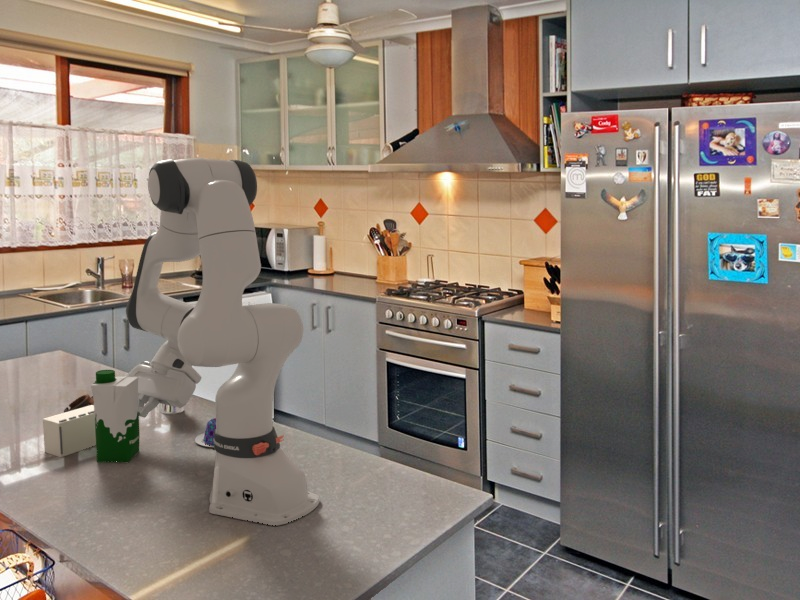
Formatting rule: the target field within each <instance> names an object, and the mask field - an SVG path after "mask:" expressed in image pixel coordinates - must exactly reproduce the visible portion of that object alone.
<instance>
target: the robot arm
mask: <svg viewBox="0 0 800 600" xmlns="http://www.w3.org/2000/svg"><path fill="white" fill-rule="evenodd" d="M147 189H148V194H149V198H150V200H151V202H152V204H153V205H154V207H156V208H157V209H159V210H160V219H159V226H158V229H157V231H155V232H152V233H151V234H150V235H149V236H148V237H147V239H146V241H145V242H144V244H143V247H142V249H141V251H142V252H141V254H140V258H139V263H138V266H137V271H136V275H135V279H134V284H133V287H132V288H133V289H132V292H131V295H130V296H129V299H128V301H127V304H126V307H125V315H126V318H127V321H128V322H129V325H130V326H131V327H132V328H134V329H136V330H140V331H142V332H143V331H144V332H147V333H150V334H153V335H156V336H158V337H161V338H163V339H166V341H164V343H162V344H161V346H159V349H158V350H157V352H156V353H155V355H154V356H153V358H152V359H151V361H149V360H148V361H147V360H144V361H143V362H140V363H138V364H137V365H135V366H134V367H133V368H132V369H131V370H129V372H128V373H127V375H126V376H127V377H138V409H139V417H141V418H147V416H148V414H149V413H150V412H152V411H153V410H154V409H155V408H158V405H159V404H161V405H162V404H165V405H169V406H174V407H178V408H182V407H183V406H184V407H185V406H186V405H187V404H188V403H189V401H190V399H191V398H192V396H193V394H194V393H195V390H196V387H197V385H198V384H199V383H200V382H201V380H202V376H201V375H200V373H199V372H198V371H197V370H195V368H193V367H201V368H221V367H225V366H230V365H237V366H236V369H235V370H234V372H233V374H232V375H231V376H230V377H229V378H228V379H227V380H226V381H225V382H223V383H222V384H221V385H220V387H219V388H218V389H217V392H216V394H215V403H214V404H215V418H216V429H215V431H214V447H213V448H214V450H215V462H214V470H213V479H212V485H211V490H210V494H209V498H208V500H209V503H210V504H209V511H208V512H209V513H210V514H213V515H216V516H217V515H218V516H222V517H228V518H232V517H233V518H232V519H236V520H237V519H238V520H242V521H247V520H248V521H247V522H252V521H253V523H257V522H259V523H258V524H262V523H263V525H267V524H268V526H272V525H273V526H275V525H276V526H282V525H286V524H289V523H292V522H294V521H293V520H295V521H297V520H299V519H301V518H302V516H303V517H304V516H307V515H308V514H310V513H312V511H315V509H316V508H317V507H318V506H319V504H320V500H321V499H320V496H319V495H318V494H316V493H314V492H311V491H309V490H308V482H307V481H308V480H307V477H306V474H305V472H304V471H303V470H302V469H301V468H300V467H299V465H298V464H297V463H295V462H294V461H293V460H292V459H291V458H290V457H289V456H288V455H287V453H286V452H285V451H284V450H283V449H281V444H280V442H283V441H285V439H283V438H284V436H285V435H279V436H278V434H277V431H276V429H275V427H274V426H273V423H274V422H273V421H274V417H273V416H274V412H273V411H274V393H275V387H276V385H277V381H278V378H279V375H280V373H281V371H282V369H283V367H284V364H285V363H286V361H287V360H288V358H289V356H291V354H293V352H294V351H296V350H297V348H298V347H299V346H300V344H301V342H302V339H303V337H304V323H303V321H302V320H303V319H302V317H301V315H300V313H299V312H298V311H297V309H295V308H294V307H293V306H291V305H289V304H283V303H282V304H281V303H273V302H266V303H258V304H248V305H243V294H244V291H245V289H246V288H247V287H248V286H249V285H251V284H252V283H253V282H254V281H255V280H256V279H257V278H258V277H259V275H260V272H261V269H262V263H261V258H260V251H259V246H258V238H257V234H256V228H255V222H254V219H253V218H254V217H253V214H252V209H251V207H250V206H251V205H253V202H254V201H255V199H256V197H257V193H258V180H257V176H256V173H255V170H254V169H253V168H252V167H251V165H250V164H249V163H248V162H245V161H243V160H239V159H229V160H227V159H226V160H225V159H219V158H218V159H216V158H204V157H196V158H194V157H192V158H182V159H175V160H174V159H171V158H169V159H165V160H160V161H157V162H155V163H153V165H152V167H150V169H149V173H148V179H147ZM199 256H200V258H201V259H200V261H201V269H202V271H201V272H202V284H201V285H202V286H201V290H200V292H199V293H200V295H199V297H198V299H197V302H196V304H195V305H193V304H190V303H187V302H185V301H183V300H179V299H176V298H173V297H172V296H168V295H166V294H164V293H162V292H161V291H160V289H159V288H158V285H159V282H160V281H159V280H160V278H161V277H160V276H161V272H162V268H163V264H164V263H181V262H187V261H190V260H194V259H195V258H198V257H199ZM298 518H299V519H298ZM296 519H297V520H296ZM291 521H292V522H291ZM288 522H289V523H288ZM276 526H275V527H276Z"/></svg>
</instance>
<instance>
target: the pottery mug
mask: <svg viewBox="0 0 800 600" xmlns="http://www.w3.org/2000/svg"><path fill="white" fill-rule="evenodd" d="M90 405H94V399H93V395H91V396H90V395H89V394H84V395H81V396H78V398H76V399H75V400H73V401H71V403H69V404H68V406H67V407H65V408H64V410H63V413H65V412H68V411H72V410H75V409H79V408H82V407H86V406H90Z"/></svg>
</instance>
